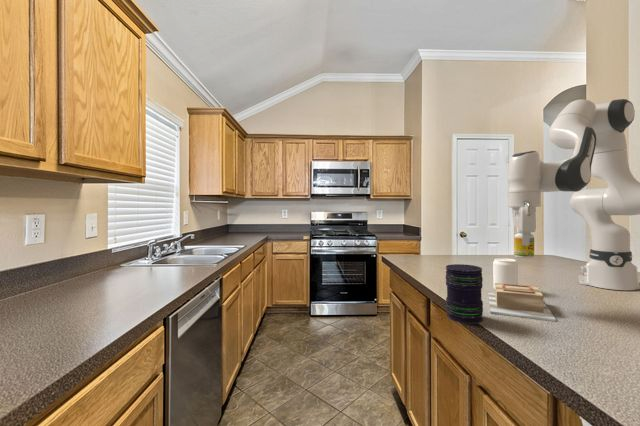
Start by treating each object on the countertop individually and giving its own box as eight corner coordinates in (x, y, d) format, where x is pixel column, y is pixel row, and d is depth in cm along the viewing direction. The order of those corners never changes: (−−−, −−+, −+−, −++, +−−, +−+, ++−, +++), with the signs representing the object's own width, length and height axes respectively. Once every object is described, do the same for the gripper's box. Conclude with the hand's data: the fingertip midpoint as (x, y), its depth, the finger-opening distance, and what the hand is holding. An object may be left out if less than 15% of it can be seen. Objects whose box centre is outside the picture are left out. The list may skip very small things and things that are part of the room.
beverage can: (494, 287, 122) (494, 257, 122) (518, 289, 117) (518, 259, 117) (492, 291, 115) (491, 260, 115) (517, 295, 111) (517, 262, 110)
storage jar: (446, 321, 87) (446, 269, 86) (445, 310, 96) (444, 263, 96) (486, 325, 83) (485, 271, 83) (480, 313, 92) (479, 265, 92)
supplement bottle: (518, 255, 101) (518, 227, 101) (537, 257, 97) (537, 227, 97) (511, 257, 98) (511, 227, 98) (530, 259, 94) (530, 228, 94)
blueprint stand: (488, 294, 112) (488, 278, 112) (541, 299, 104) (541, 282, 104) (490, 313, 92) (490, 293, 92) (555, 321, 85) (555, 300, 85)
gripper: (542, 200, 87) (542, 248, 87) (530, 202, 105) (530, 241, 105) (516, 200, 90) (516, 247, 90) (509, 202, 108) (509, 241, 108)
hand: (524, 244), depth 98 cm, fingers closed on supplement bottle, 5 cm apart
